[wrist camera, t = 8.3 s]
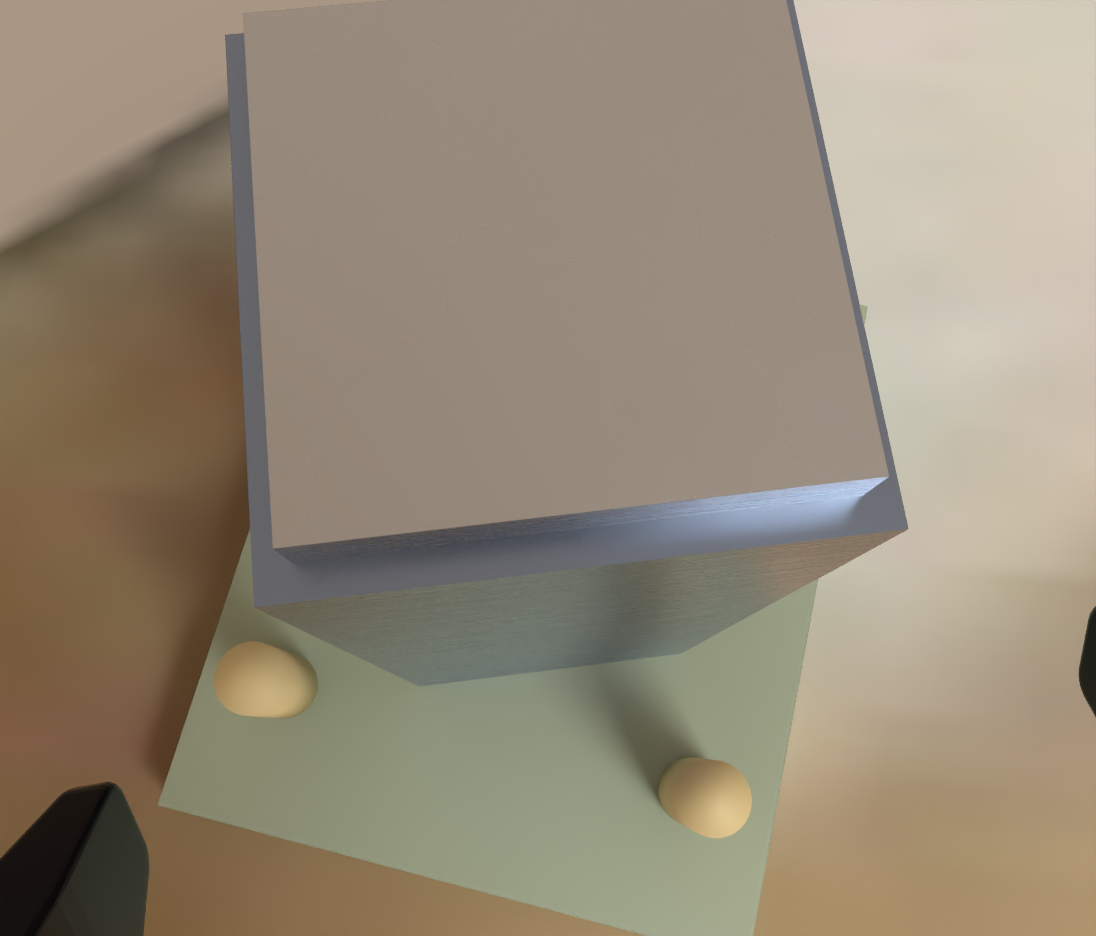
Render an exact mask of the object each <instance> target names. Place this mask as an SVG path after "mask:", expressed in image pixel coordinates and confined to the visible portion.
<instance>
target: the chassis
mask: <svg viewBox="0 0 1096 936" xmlns="http://www.w3.org/2000/svg"><path fill="white" fill-rule="evenodd" d="M860 309H861V314H862V318H863V323H864V324H865V318H866V313H867V306H862V305H860ZM817 582H818V579H816V580H814V581H813V582H811V583H809V584H807V585H805V586H804V587H802V588H800V589H798V590H796V591H794V592H793V593H791V594H789V595H787V596H785V597H783V598H782V599H780V600H778V601H776V602H774V603H772V604H771V605H769V606H767V607H765V608H763V609H762V610H760V611H758V612H756V613H754V614H752V615H751V616H749V617H747V618H745V619H743V620H741V621H740V622H738V623H736V624H734V625H732V626H730V627H729V628H727V629H725V630H723V631H721V632H720V633H718V634H716V635H714V636H712V637H710V638H709V639H707V640H705V641H703V642H701V643H699V644H698V645H696V646H694V647H692V648H690V649H689V650H687V651H685V652H683V653H681V654H676V655H668V656H660V657H652V658H644V659H636V660H628V661H620V662H612V663H604V664H596V665H588V666H580V667H572V668H564V669H556V670H548V671H540V672H532V673H524V674H516V675H508V676H500V677H492V678H484V679H476V680H468V681H460V682H452V683H444V684H436V685H428V686H420V687H419V686H417V685H415V684H413V683H410V682H408V681H406V680H404V679H402V678H400V677H398V676H396V675H394V674H392V673H390V672H388V671H385V670H383V669H381V668H379V667H377V666H375V665H373V664H371V663H369V662H367V661H365V660H363V659H360V658H358V657H356V656H354V655H352V654H350V653H348V652H346V651H344V650H342V649H340V648H337V647H335V646H333V645H331V644H329V643H327V642H325V641H323V640H321V639H319V638H317V637H315V636H312V635H310V634H308V633H306V632H304V631H302V630H300V629H298V628H296V627H294V626H292V625H290V624H287V623H285V622H283V621H281V620H279V619H277V618H275V617H273V616H271V615H269V614H267V613H264V612H262V611H260V610H258V609H256V608H254V597H253V577H252V558H251V538H250V529H249V532H248V535H247V538H246V541H245V544H244V547H243V550H242V553H241V556H240V559H239V562H238V565H237V568H236V571H235V574H234V577H233V580H232V583H231V586H230V589H229V592H228V595H227V598H226V601H225V604H224V607H223V610H222V613H221V616H220V619H219V622H218V625H217V628H216V631H215V634H214V637H213V640H212V643H211V646H210V649H209V652H208V655H207V658H206V661H205V664H204V667H203V670H202V673H201V676H200V679H199V682H198V685H197V688H196V691H195V694H194V697H193V700H192V703H191V706H190V709H189V712H188V715H187V718H186V721H185V724H184V727H183V730H182V733H181V736H180V739H179V742H178V745H177V748H176V751H175V754H174V757H173V760H172V763H171V766H170V769H169V772H168V775H167V778H166V781H165V784H164V787H163V790H162V793H161V796H160V799H159V802H158V806H162V807H166V808H169V809H173V810H177V811H181V812H184V813H188V814H192V815H196V816H199V817H203V818H207V819H211V820H214V821H218V822H222V823H226V824H229V825H233V826H237V827H241V828H244V829H248V830H252V831H256V832H259V833H263V834H267V835H271V836H274V837H278V838H282V839H286V840H289V841H293V842H297V843H301V844H304V845H308V846H312V847H316V848H319V849H323V850H327V851H331V852H334V853H338V854H342V855H346V856H349V857H353V858H357V859H361V860H364V861H368V862H372V863H376V864H379V865H383V866H387V867H391V868H394V869H398V870H402V871H406V872H409V873H413V874H417V875H421V876H424V877H428V878H432V879H436V880H439V881H443V882H447V883H451V884H454V885H458V886H462V887H466V888H469V889H473V890H477V891H481V892H484V893H488V894H492V895H496V896H499V897H503V898H507V899H511V900H514V901H518V902H522V903H526V904H529V905H533V906H537V907H541V908H544V909H548V910H552V911H556V912H559V913H563V914H567V915H571V916H574V917H578V918H582V919H586V920H589V921H593V922H597V923H601V924H604V925H608V926H612V927H616V928H619V929H623V930H627V931H631V932H634V933H638V934H642V935H646V936H753V933H754V928H755V922H756V917H757V911H758V906H759V900H760V895H761V889H762V884H763V878H764V873H765V867H766V862H767V857H768V851H769V846H770V840H771V835H772V829H773V824H774V818H775V813H776V807H777V802H778V796H779V791H780V785H781V780H782V774H783V769H784V763H785V758H786V752H787V747H788V741H789V736H790V730H791V725H792V719H793V714H794V708H795V703H796V697H797V692H798V686H799V681H800V675H801V670H802V664H803V659H804V653H805V648H806V642H807V637H808V631H809V626H810V620H811V615H812V609H813V604H814V598H815V593H816V587H817Z"/></svg>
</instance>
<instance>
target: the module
mask: <svg viewBox="0 0 1096 936" xmlns="http://www.w3.org/2000/svg"><path fill="white" fill-rule="evenodd" d="M243 22H244V33H241V34H230V35H225V38H226V39H225V40H226V59H227V80H228V100H229V120H230V140H231V160H232V179H233V199H234V219H235V239H236V259H237V279H238V299H239V319H240V339H241V359H242V378H243V398H244V418H245V438H246V458H247V478H248V498H249V518H250V538H251V558H252V577H253V597H254V608H256V609H258V610H260V611H262V612H264V613H267V614H269V615H271V616H273V617H275V618H277V619H279V620H281V621H283V622H285V623H287V624H290V625H292V626H294V627H296V628H298V629H300V630H302V631H304V632H306V633H308V634H310V635H312V636H315V637H317V638H319V639H321V640H323V641H325V642H327V643H329V644H331V645H333V646H335V647H337V648H340V649H342V650H344V651H346V652H348V653H350V654H352V655H354V656H356V657H358V658H360V659H363V660H365V661H367V662H369V663H371V664H373V665H375V666H377V667H379V668H381V669H383V670H385V671H388V672H390V673H392V674H394V675H396V676H398V677H400V678H402V679H404V680H406V681H408V682H410V683H413V684H415V685H417V686H419V687H420V686H428V685H436V684H444V683H452V682H460V681H468V680H476V679H484V678H492V677H500V676H508V675H516V674H524V673H532V672H540V671H548V670H556V669H564V668H572V667H580V666H588V665H596V664H604V663H612V662H620V661H628V660H636V659H644V658H652V657H660V656H668V655H676V654H681V653H683V652H685V651H687V650H689V649H690V648H692V647H694V646H696V645H698V644H699V643H701V642H703V641H705V640H707V639H709V638H710V637H712V636H714V635H716V634H718V633H720V632H721V631H723V630H725V629H727V628H729V627H730V626H732V625H734V624H736V623H738V622H740V621H741V620H743V619H745V618H747V617H749V616H751V615H752V614H754V613H756V612H758V611H760V610H762V609H763V608H765V607H767V606H769V605H771V604H772V603H774V602H776V601H778V600H780V599H782V598H783V597H785V596H787V595H789V594H791V593H793V592H794V591H796V590H798V589H800V588H802V587H804V586H805V585H807V584H809V583H811V582H813V581H814V580H816V579H818V578H820V577H822V576H824V575H825V574H827V573H829V572H831V571H833V570H835V569H836V568H838V567H840V566H842V565H844V564H845V563H847V562H849V561H851V560H853V559H855V558H856V557H858V556H860V555H862V554H864V553H866V552H867V551H869V550H871V549H873V548H875V547H877V546H878V545H880V544H882V543H884V542H886V541H887V540H889V539H891V538H893V537H895V536H897V535H898V534H900V533H902V532H904V531H906V530H908V525H907V520H906V516H905V511H904V506H903V502H902V497H901V493H900V488H899V484H898V479H897V474H896V470H895V465H894V461H893V456H892V451H891V447H890V442H889V438H888V433H887V428H886V424H885V419H884V415H883V410H882V406H881V401H880V396H879V392H878V387H877V383H876V378H875V373H874V369H873V364H872V360H871V355H870V350H869V346H868V341H867V337H866V332H865V328H864V323H863V318H862V314H861V309H860V305H859V300H858V295H857V291H856V286H855V282H854V277H853V272H852V268H851V263H850V259H849V254H848V250H847V245H846V240H845V236H844V231H843V227H842V222H841V217H840V213H839V208H838V204H837V199H836V194H835V190H834V185H833V181H832V176H831V172H830V167H829V162H828V158H827V153H826V149H825V144H824V139H823V135H822V130H821V126H820V121H819V116H818V112H817V107H816V103H815V98H814V94H813V89H812V84H811V80H810V75H809V71H808V66H807V61H806V57H805V52H804V48H803V43H802V38H801V34H800V29H799V25H798V20H797V16H796V11H795V6H794V2H793V0H387V1H376V2H365V3H354V4H343V5H331V6H321V7H310V8H298V9H287V10H276V11H266V12H254V13H243Z"/></svg>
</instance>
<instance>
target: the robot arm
mask: <svg viewBox="0 0 1096 936" xmlns="http://www.w3.org/2000/svg"><path fill="white" fill-rule="evenodd" d="M1079 682H1080V686H1081V689H1082V692H1083V695H1084V697H1085V699H1086V701H1087V702H1088V704H1089V706H1090V708H1091V710H1092V711H1093V713H1094V715H1095V717H1096V606H1095V607H1094V608H1093V610H1092V611H1091V613H1090V615H1089V619H1088V624H1087V629H1086V635H1085V640H1084V645H1083V650H1082V655H1081V661H1080V666H1079ZM148 877H149V857H148V850H147V846H146V843H145V840H144V838H143V836H142V834H141V831H140V829H139V827H138V825H137V823H136V820H135V818H134V816H133V814H132V811H131V809H130V807H129V805H128V803H127V800H126V798H125V796H124V794H123V792H122V790H121V789H120V787H119V786H117V785H116V784H115V783H111V782H103V783H98V784H92V785H87V786H81V787H76V788H72V789H69V790H67V791H65V792H64V793H63V794H61V795H60V796H59V797H58V798H57V799H56V800H55V801H54V802H53V803H52V804H51V805H50V806H49V808H48V809H47V810H46V811H45V812H44V813H43V814H42V815H41V816H40V817H39V818H38V819H37V820H36V821H35V822H34V823H33V824H32V825H31V827H30V828H29V829H28V830H27V831H26V832H25V833H24V834H23V835H22V836H21V837H20V838H19V839H18V840H17V841H16V842H15V843H14V844H13V846H12V847H11V848H10V849H9V850H8V851H7V852H6V853H5V854H4V855H3V856H2V857H1V858H0V936H143V933H144V922H145V911H146V899H147V888H148Z"/></svg>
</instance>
